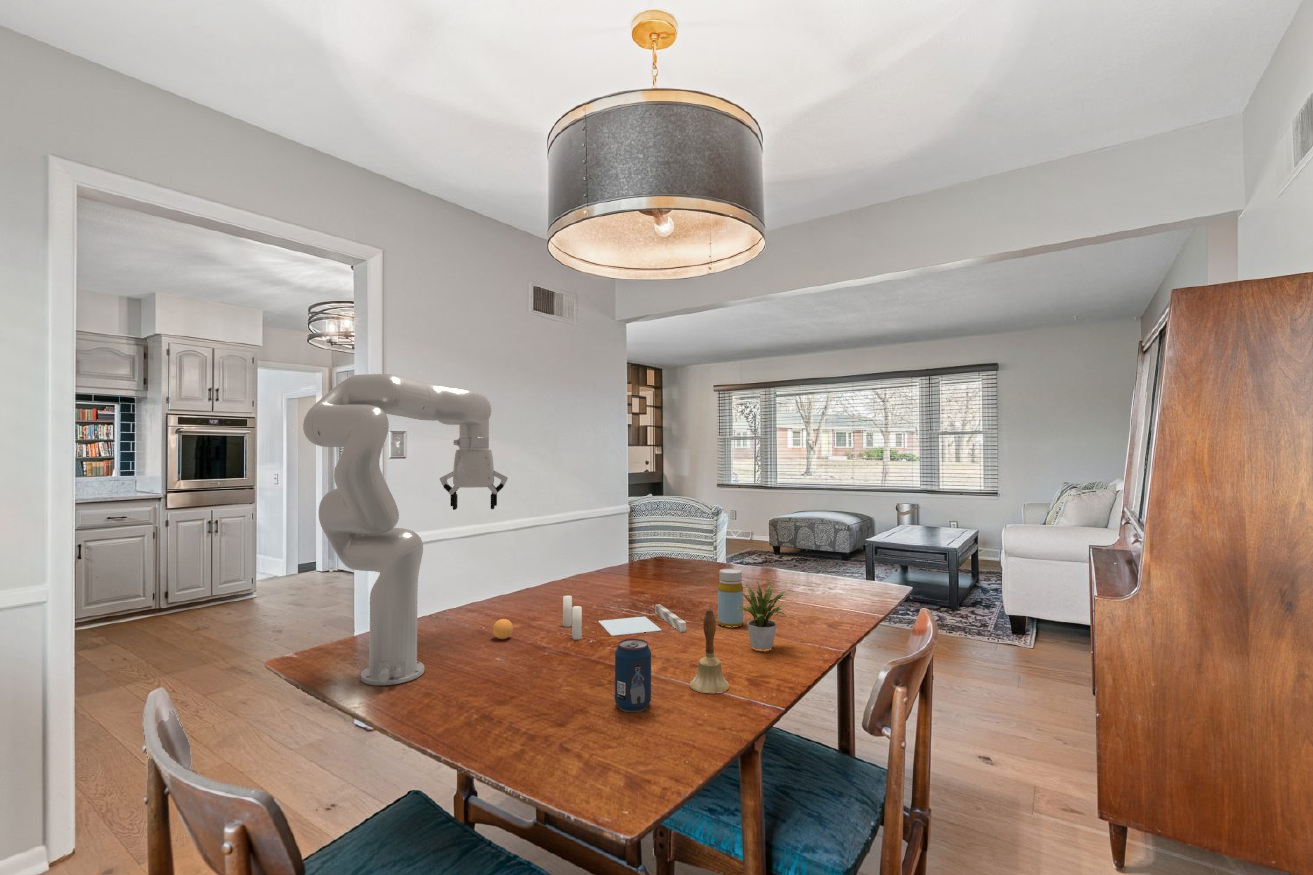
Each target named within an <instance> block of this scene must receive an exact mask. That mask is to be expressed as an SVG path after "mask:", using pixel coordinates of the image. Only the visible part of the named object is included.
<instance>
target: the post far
mask: <svg viewBox="0 0 1313 875" xmlns="http://www.w3.org/2000/svg"><path fill="white" fill-rule="evenodd" d="M572 607H573V595H563V596H562V626H563V627H564V628H569V627H572Z"/></svg>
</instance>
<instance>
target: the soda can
mask: <svg viewBox="0 0 1313 875" xmlns="http://www.w3.org/2000/svg"><path fill="white" fill-rule="evenodd" d="M617 645H618V646H617V648H616V650H615V651H614V701H615V704H616V705H617V707H618V709H619V710H621V711H623V712H627V713H639V712H643V711H645V710H646V709H647V708H648V706H649V705H650V703H651V701H652V651H651V648H650V646H649V643H648V641H647V640H644V639H641V638H625V639H622V640H620V641H618V643H617Z"/></svg>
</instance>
